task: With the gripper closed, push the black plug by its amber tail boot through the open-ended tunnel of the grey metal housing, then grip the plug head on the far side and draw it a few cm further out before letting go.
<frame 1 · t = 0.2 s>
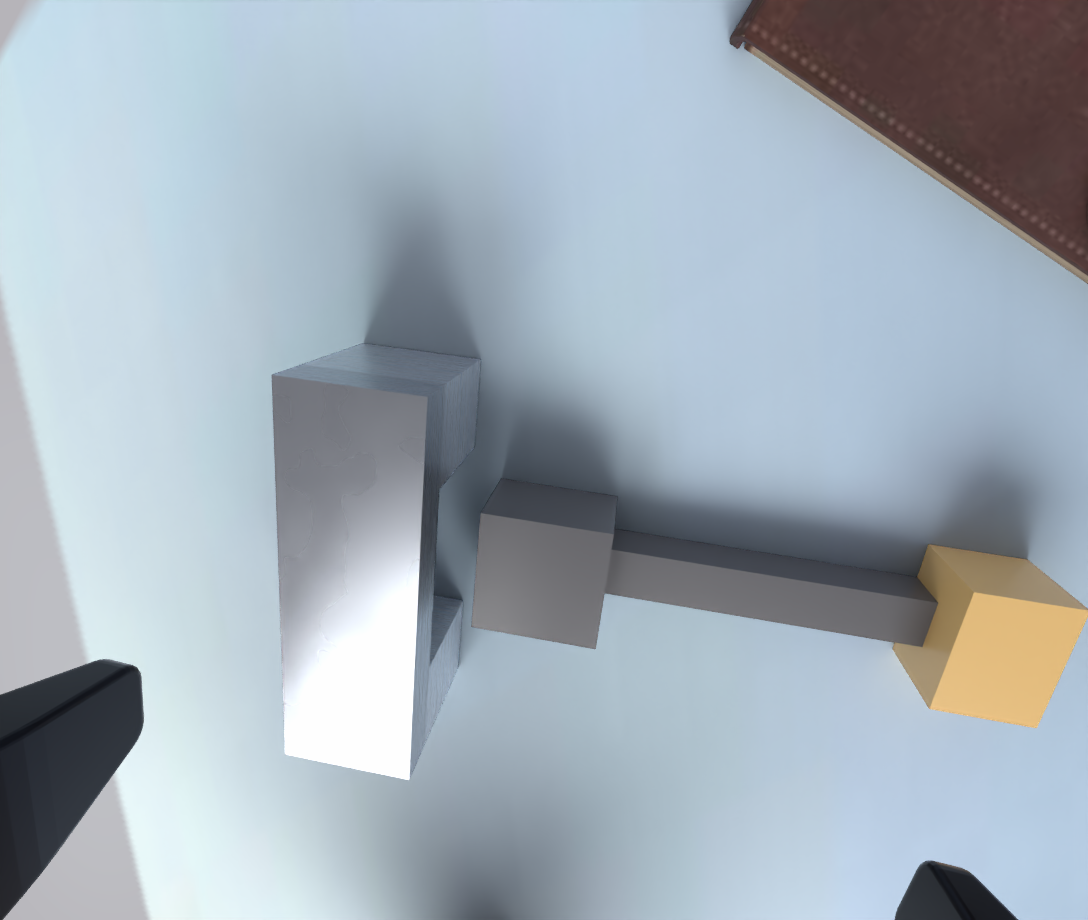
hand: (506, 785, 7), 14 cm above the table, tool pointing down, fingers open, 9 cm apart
plug: (552, 539, 22), on the table
housing: (414, 518, 23), on the table
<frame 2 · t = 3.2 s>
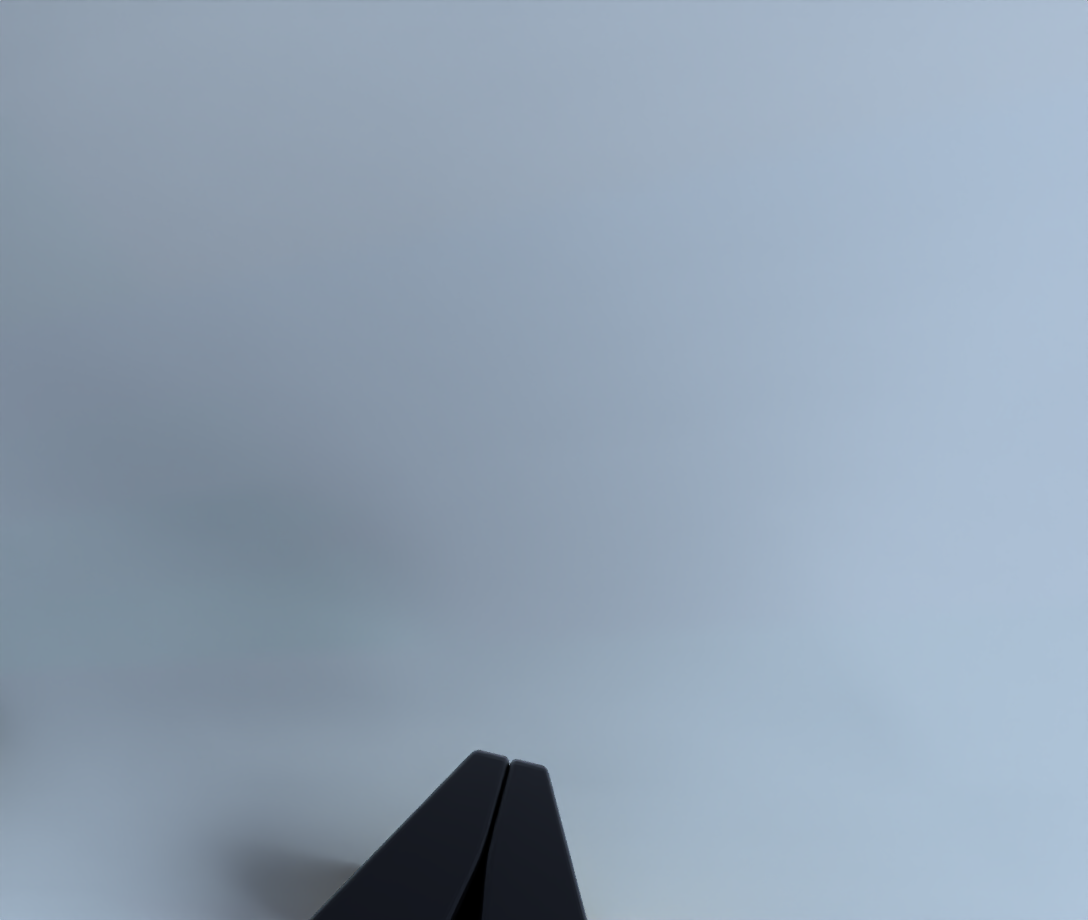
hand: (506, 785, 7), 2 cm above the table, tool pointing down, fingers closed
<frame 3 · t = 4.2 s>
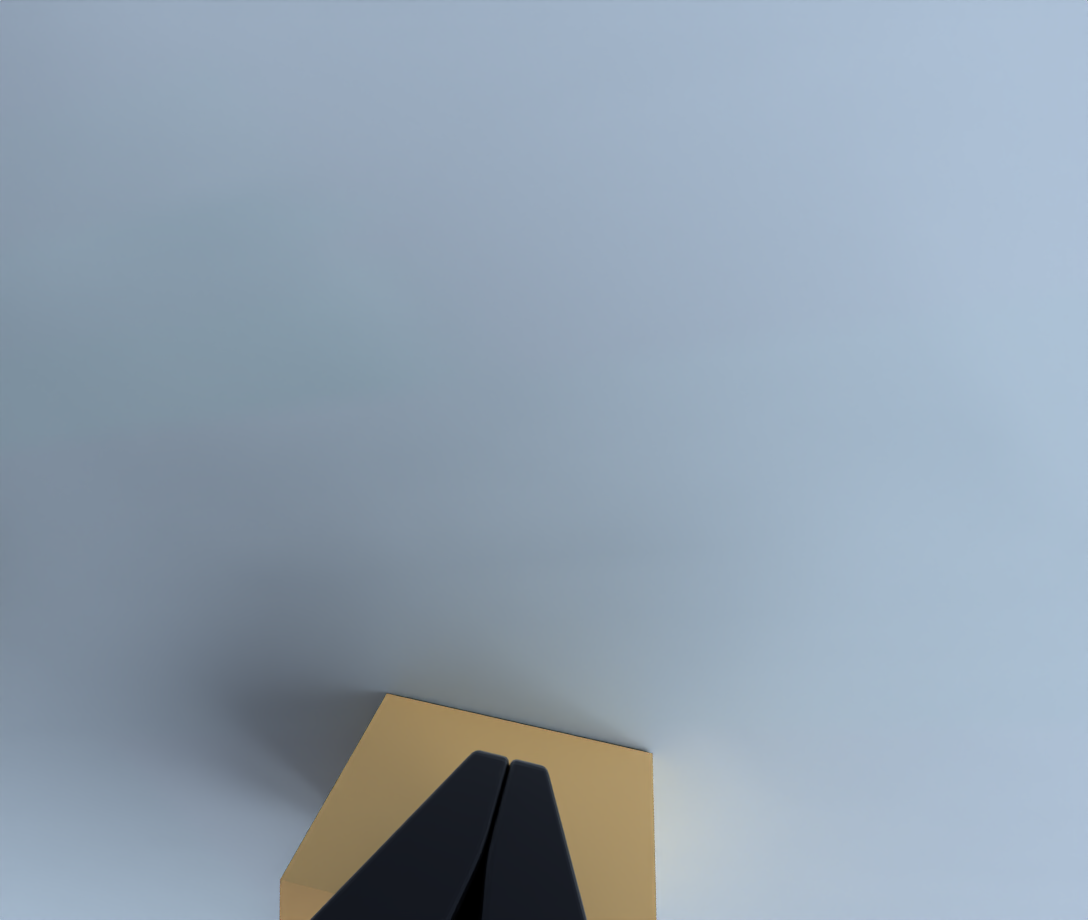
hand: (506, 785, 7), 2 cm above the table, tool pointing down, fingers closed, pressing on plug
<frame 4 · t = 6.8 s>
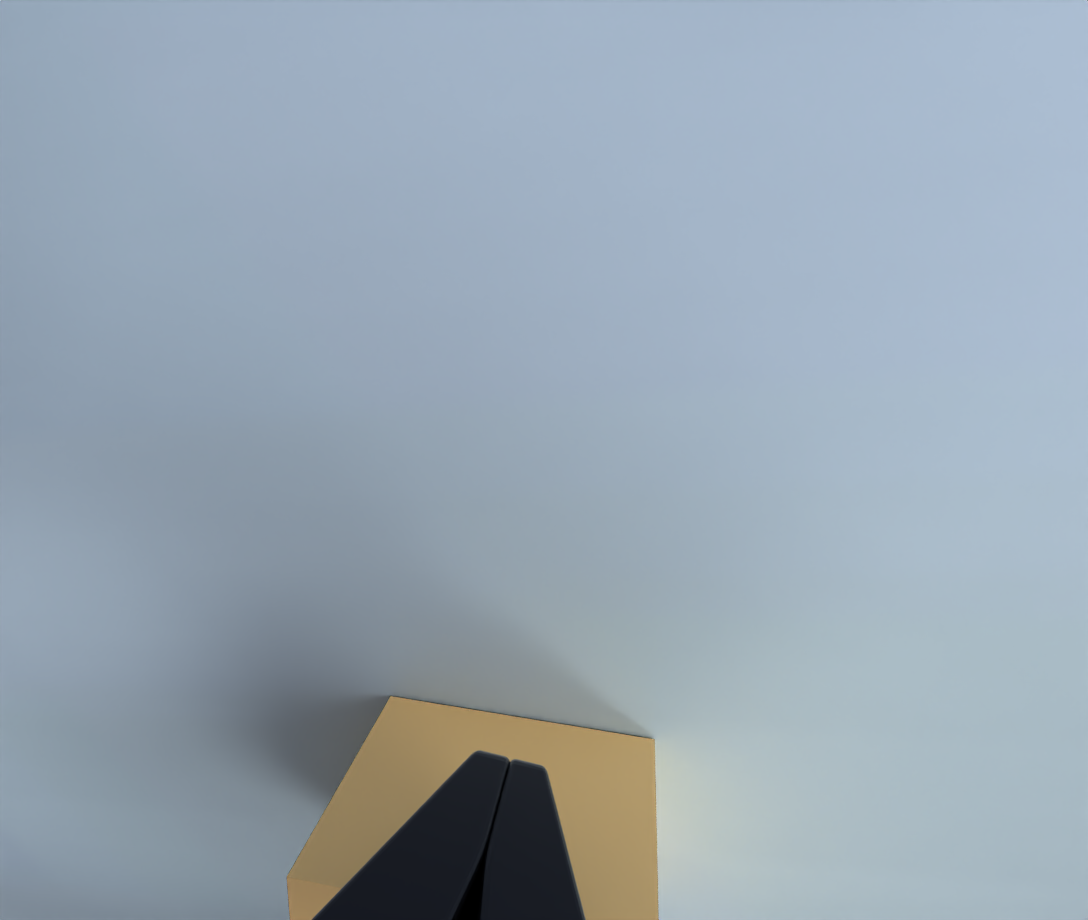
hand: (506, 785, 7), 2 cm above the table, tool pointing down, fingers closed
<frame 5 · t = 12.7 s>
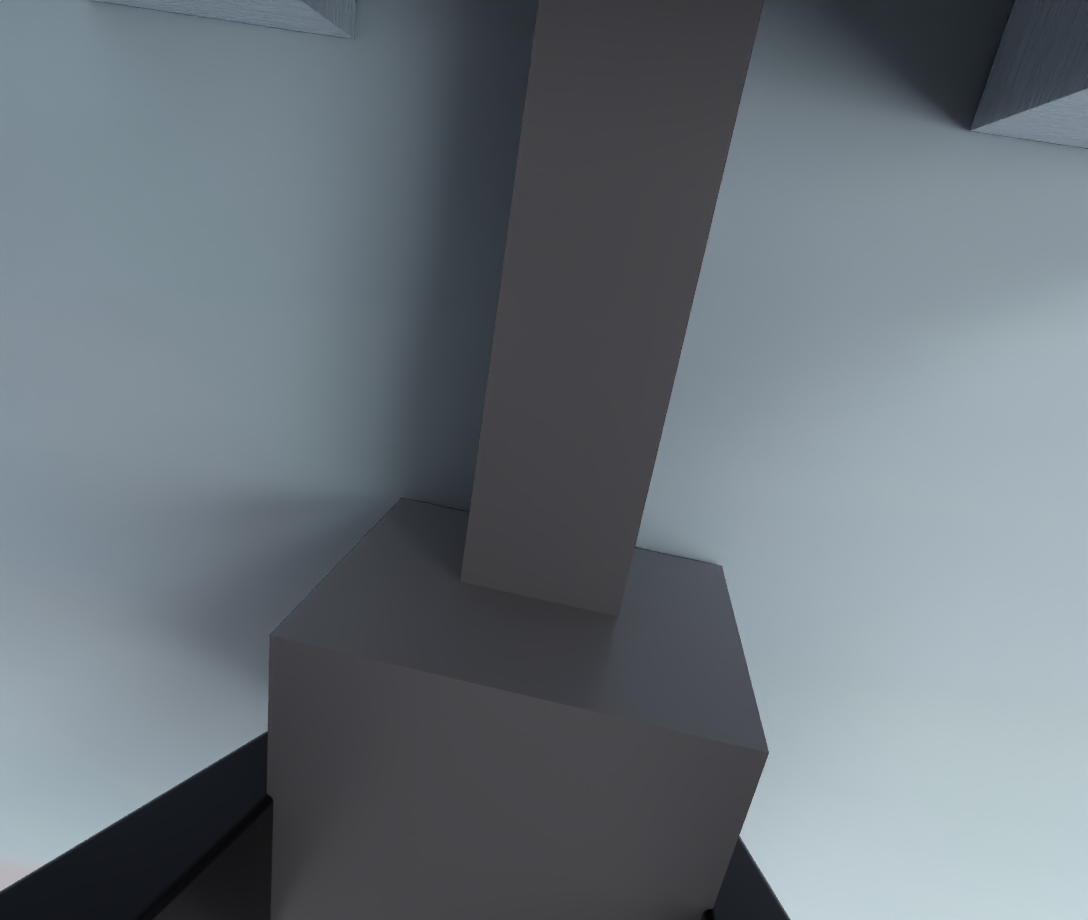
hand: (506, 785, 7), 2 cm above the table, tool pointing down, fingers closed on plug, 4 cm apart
plug: (532, 665, 8), on the table, touching gripper
when the fingers open (2 cm above the table, at t = 12.9 s): plug stays where it is, on the table.
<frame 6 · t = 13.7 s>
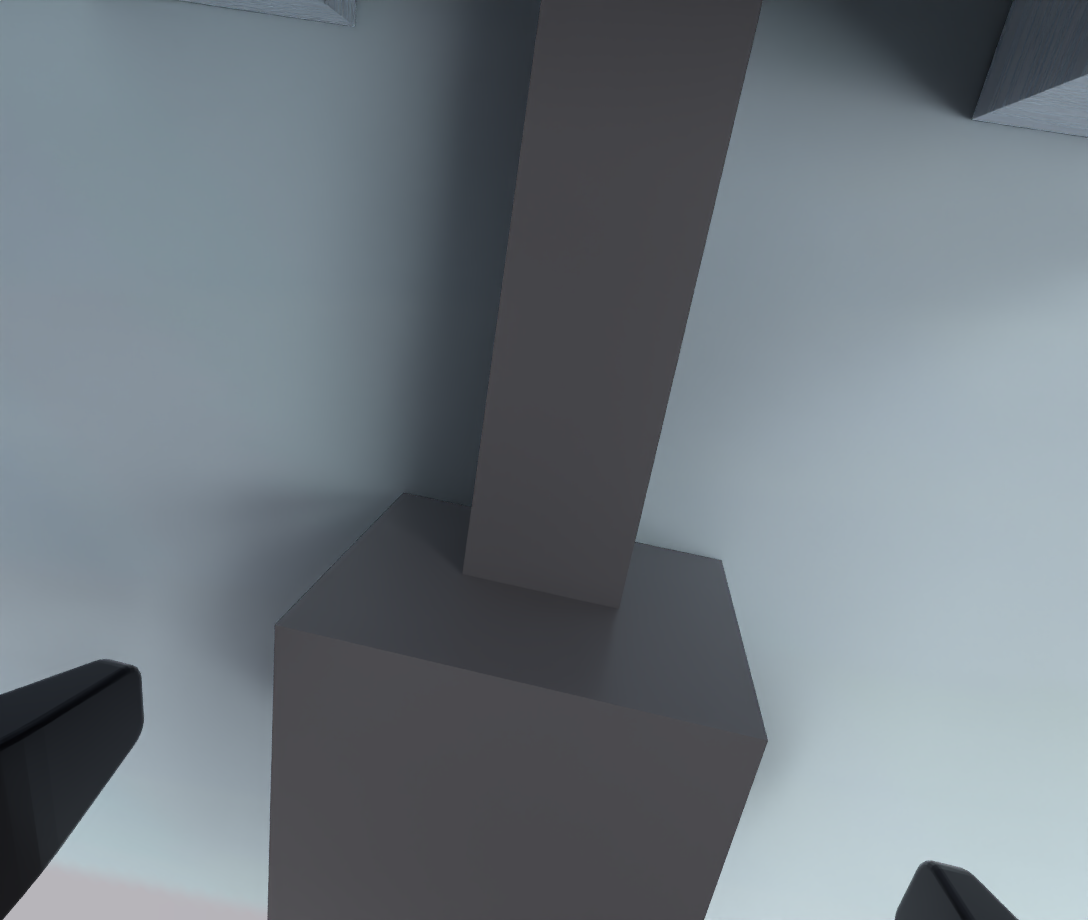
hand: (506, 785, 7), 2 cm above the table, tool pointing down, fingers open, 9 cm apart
plug: (533, 659, 9), on the table
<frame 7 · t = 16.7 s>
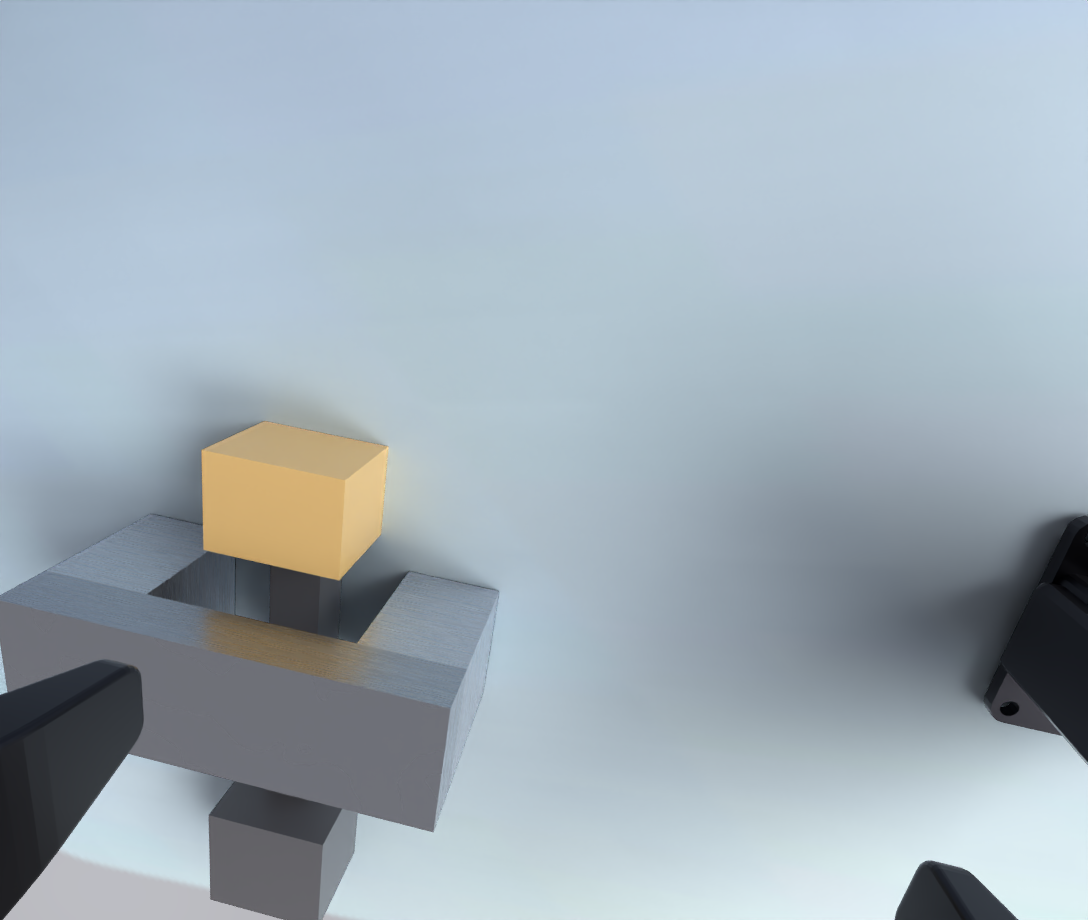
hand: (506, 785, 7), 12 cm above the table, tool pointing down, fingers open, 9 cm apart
plug: (307, 801, 24), on the table
housing: (318, 603, 21), on the table
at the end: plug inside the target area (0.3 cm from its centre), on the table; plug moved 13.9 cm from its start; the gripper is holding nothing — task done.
